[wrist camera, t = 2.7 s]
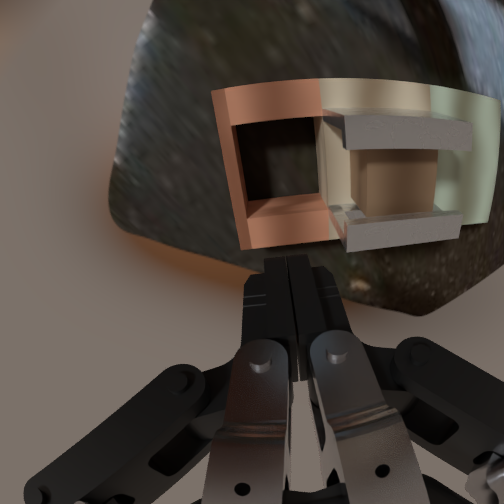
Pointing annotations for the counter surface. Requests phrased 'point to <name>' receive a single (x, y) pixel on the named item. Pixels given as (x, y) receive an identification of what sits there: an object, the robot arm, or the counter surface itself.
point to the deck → (338, 159)
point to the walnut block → (393, 180)
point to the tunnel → (396, 137)
